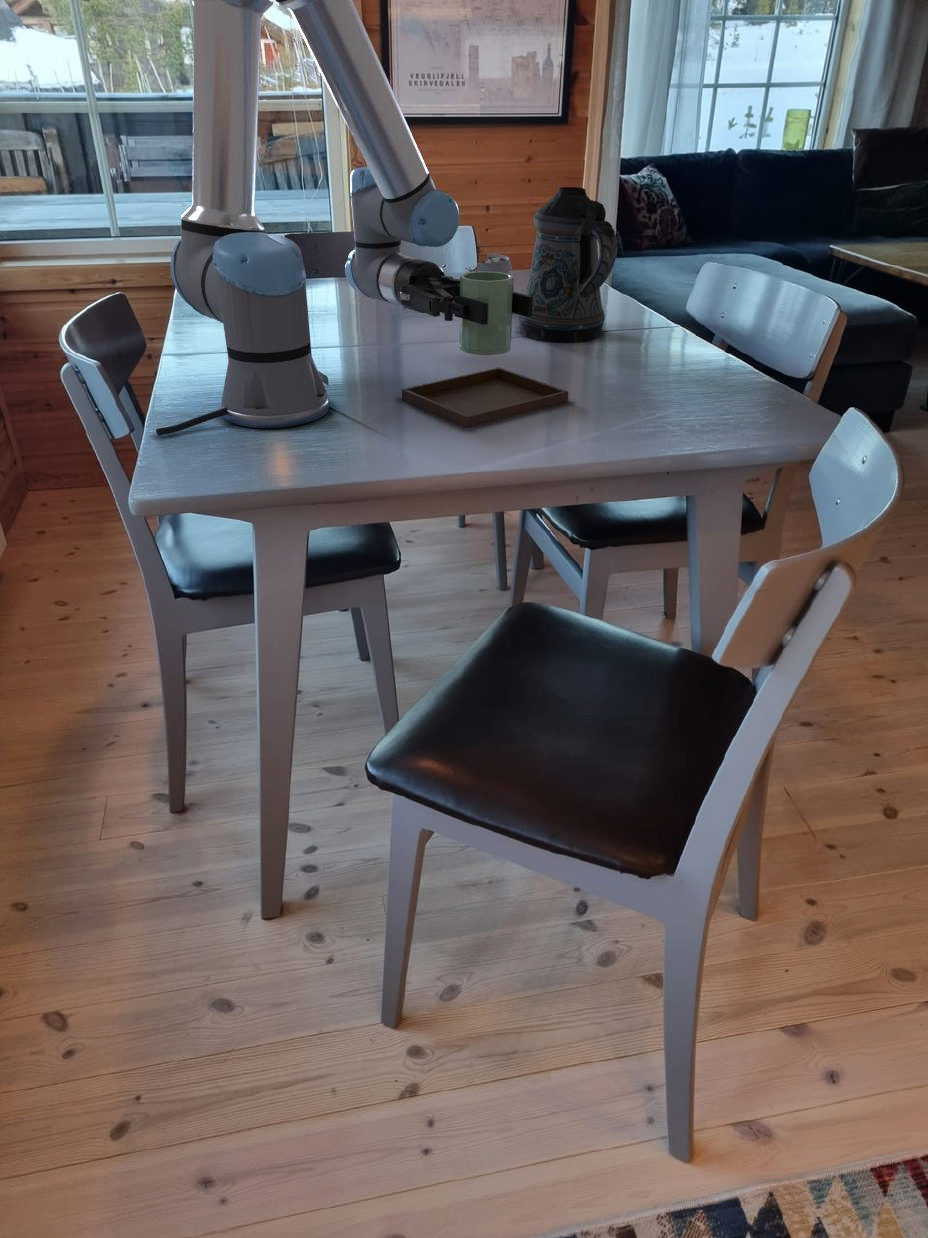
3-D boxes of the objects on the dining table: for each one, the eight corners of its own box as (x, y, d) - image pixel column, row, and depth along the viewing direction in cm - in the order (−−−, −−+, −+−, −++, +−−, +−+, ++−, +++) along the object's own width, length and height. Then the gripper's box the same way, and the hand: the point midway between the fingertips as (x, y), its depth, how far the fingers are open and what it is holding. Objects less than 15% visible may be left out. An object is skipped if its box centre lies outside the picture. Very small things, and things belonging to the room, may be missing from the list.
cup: (481, 357, 123) (482, 283, 118) (449, 346, 128) (449, 274, 123) (520, 350, 127) (524, 277, 121) (488, 339, 132) (490, 269, 126)
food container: (505, 316, 179) (507, 264, 173) (476, 314, 180) (476, 263, 174) (514, 303, 189) (516, 253, 184) (486, 302, 190) (487, 252, 185)
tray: (467, 429, 121) (467, 417, 120) (401, 400, 132) (401, 388, 131) (567, 403, 131) (568, 391, 130) (499, 378, 142) (499, 367, 141)
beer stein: (536, 318, 177) (542, 181, 164) (629, 328, 170) (643, 186, 157) (503, 336, 164) (507, 189, 151) (602, 349, 157) (615, 195, 144)
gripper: (465, 301, 143) (560, 328, 128) (359, 317, 133) (449, 348, 117) (465, 252, 139) (563, 274, 124) (357, 264, 129) (449, 290, 113)
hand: (508, 310), depth 121 cm, fingers closed on cup, 7 cm apart
